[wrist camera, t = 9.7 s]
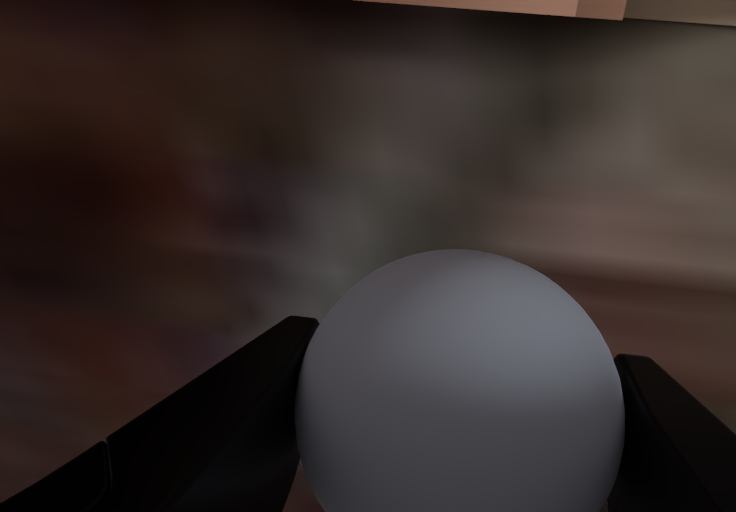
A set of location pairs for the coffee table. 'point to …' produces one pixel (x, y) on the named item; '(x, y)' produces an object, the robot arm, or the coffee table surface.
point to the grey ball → (459, 393)
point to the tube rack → (602, 8)
